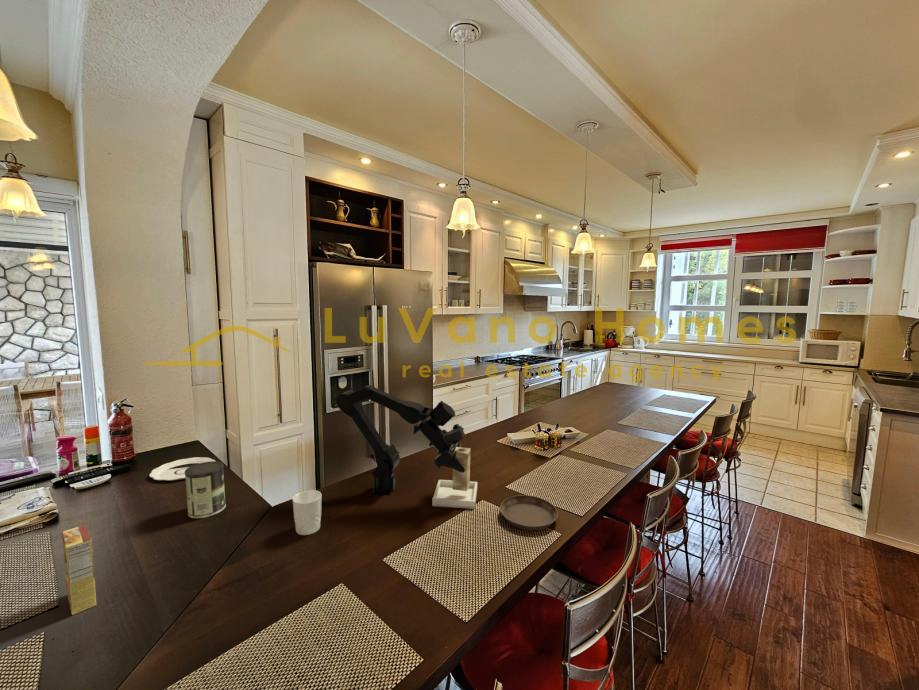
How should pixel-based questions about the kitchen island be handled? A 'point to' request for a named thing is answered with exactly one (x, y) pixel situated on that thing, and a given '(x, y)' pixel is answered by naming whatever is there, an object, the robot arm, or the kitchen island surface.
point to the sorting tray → (454, 495)
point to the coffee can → (205, 489)
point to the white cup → (307, 511)
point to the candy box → (79, 569)
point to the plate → (165, 474)
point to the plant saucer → (528, 512)
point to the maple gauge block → (463, 479)
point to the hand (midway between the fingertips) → (465, 468)
